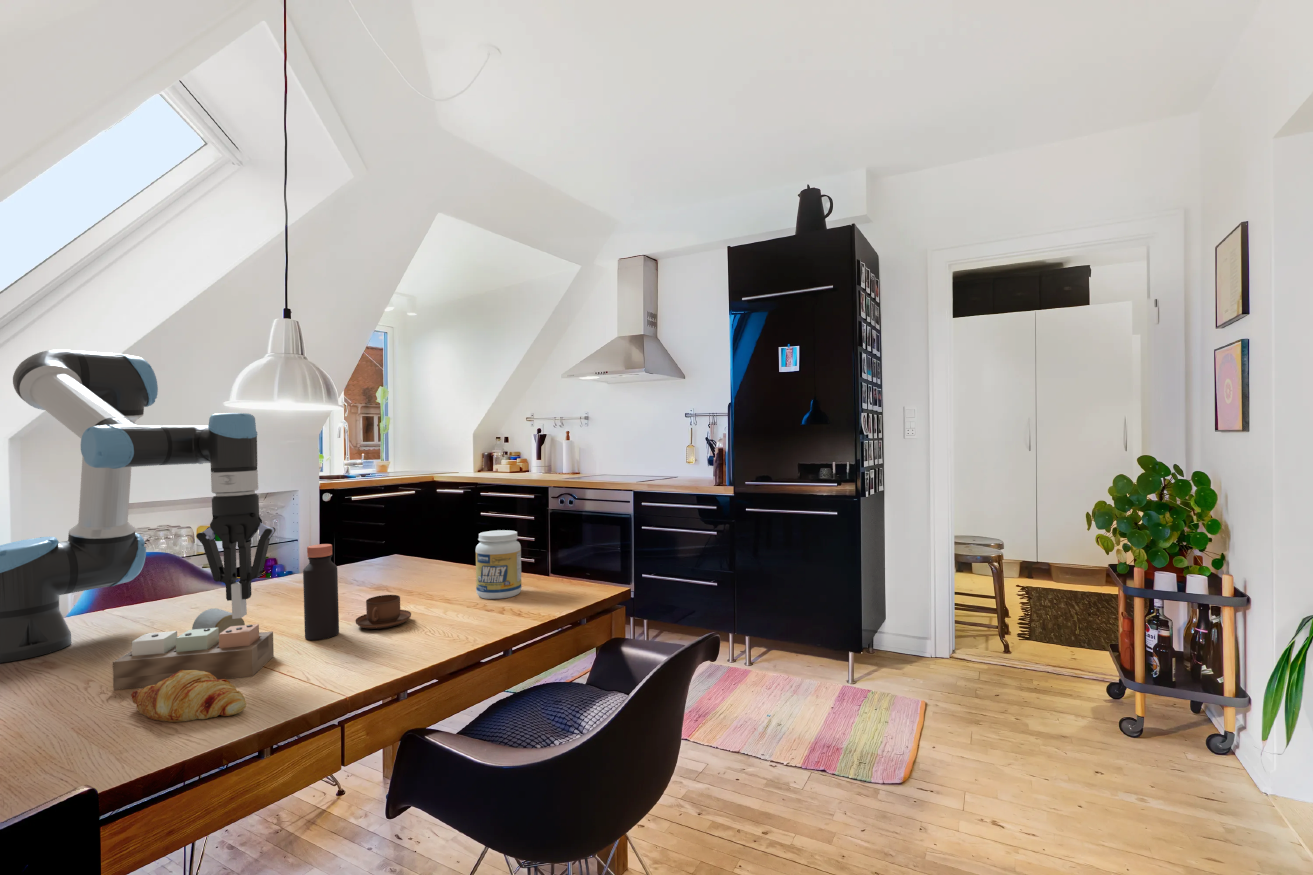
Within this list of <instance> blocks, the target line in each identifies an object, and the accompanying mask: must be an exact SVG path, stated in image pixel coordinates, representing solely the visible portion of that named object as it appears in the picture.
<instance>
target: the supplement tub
mask: <svg viewBox="0 0 1313 875" xmlns="http://www.w3.org/2000/svg"><path fill="white" fill-rule="evenodd" d="M518 536H519V535H518V531H515V530H510V529H509V530H508V529H507V530H505V529H502V530H501V529H497V530H489V531H482V532H480V533H478V538H477V540H478V541H479V542H478V544H477V545H476V546H475V578H476V579H475V583H476V584H475V587H476V588H475V592H476V595H477V596H478V597H479V598H481V599H488V600H499V599H500V600H501V599H506V598H507V599H509V598H512V597H516V596H517V595H519V594H520V593H521V591H522V546H521V543H520V542H519V541H518V539H519V538H518Z"/></svg>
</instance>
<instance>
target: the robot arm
mask: <svg viewBox="0 0 1313 875" xmlns="http://www.w3.org/2000/svg"><path fill="white" fill-rule="evenodd" d="M14 370H15V371H14V373H13V374H12V375H13V376H12V384H13V385H12V386H13V388H14V391H15V393H16V394H17V396H18V397H19V398H20V399H22V400H23V402H24V403H26V404H28V405H29V406H31V407H33V408H35V409H37V410H41V411H45V412H47V413H48V414H49V415H50V416H52V417H53V418H55V419H56V420H57V421H58V422H59V423H61V424H62V425H63V426H64V427H65V428H67V429H68V430H69V431H70V432H72V433H73V434H74V435H76V437H78V438H79V439H80V452H81V453H80V454H81V456H82V460H81V471H80V472H81V473H80V490H79V505H78V506H79V508H78V520H77V521H78V522H77V524H75V525H73V527H71V528H70V529H68V538H67V539H68V540H65V541H59V539H58V538H57V537H55V536H41V537H36V538H35V537H34V538H26V539H21V540H17V541H11V542H8V543H4V544H0V664H1V663H9V662H16V661H21V660H26V659H30V658H35V657H40V656H43V655H47V654H50V653H53V652H57V651H59V650H62V649H64V648H66V647H68V646H70V645H71V644H72V633H71V630H70V628H69V626H68V624H67V622H66V620H65V618H64V615H63V613H62V612H61V610H60V596H62V595H68V594H74V593H79V592H85V591H89V590H95V589H102V588H110V587H115V586H117V585H121V584H124V583H128V582H131V581H133V580H134V579H136V577H138V576H139V574H140V573H141V572H142V570H143V568H144V565H145V562H146V556H147V547H146V545H145V544H146V542H145V539H144V538H143V536H142V535H141V534H139V533H137V532H136V527H135V526H133V525H132V524H131V523H129V508H130V507H129V506H130V493H131V480H132V478H131V477H132V468H135V467H136V468H137V467H151V466H153V467H154V466H173V465H177V466H178V465H197V464H199V465H203V464H210V480H211V481H210V483H211V484H210V486H211V493H212V494H214V496H213V497H212V498H211V514H212V515H211V516H212V520H211V521H210V523H209V527H208V528H206V529H205V530H203V531H201V532H197V534H196V536H195V537H196V539H197V540H198V541H199V542H200V543H201V544H202V546H203V547H202V548H203V550H204V553H205V556H206V559H207V562H208V567H209V570H210V571H211V575H212V579H213V580H214V582H216V583H217V582H220V583H223V584H224V585H225V599H226V600H227V602H228V601H231V613H232V619H237V618H242V619H243V617H245V616H247V615H248V614H247V611H248V610H247V600H248V599H250V598H251V597H252V581H253V580H255V579H257V578H259V577H260V576H262V574H263V570H264V566H265V563H266V559H267V558H266V557H267V554H268V549H269V545H270V540H271V538H272V537H273V535H274V534H275V532H276V528H275V527H274V526H271V527H270V526H268V525H266V524H264V523H263V520H262V518H261V517H260V516H261V515H260V499H259V498H260V497H259V494H258V493H257V491H258V490H259V473H258V472H259V471H258V431H257V425H256V417H255V416H254V415H253V414H251V413H246V412H245V413H244V412H243V413H242V412H241V413H240V412H228V413H227V412H226V413H225V412H223V413H221V412H220V413H218V412H217V413H214V414H211V415H210V417H208V418H209V419H208V424H207V425H205V424H204V425H146V424H145V425H140V424H139V425H138V424H137V423H135V422H136V421H137V420H140V418H142V417H143V416H144V412H145V411H144V410H145V408H148V407H150V406H153V405H154V404H155V402H156V399H157V398H158V394H159V386H158V379H157V376H156V374H155V371H154V369H153V368H152V366H151V364H150V363H149V362H148V361H147V360H146V359H144V358H143V357H141V356H136V355H130V354H123V353H117V352H116V353H115V352H114V353H113V352H100V351H98V352H97V351H86V350H71V349H50V350H49V349H47V350H43V351H39V352H37V353H35V354H32V355H30V356H28V357H27V358H25V359H23V361H21V362H20V363H19V364H18V366H17V367H16V369H14ZM258 531H259V532H258ZM256 533H258V536H259V539H258V541H257V545H256V550H255V555H254V557H253V558H254V559H253V562H252V548H251V547H252V546H251V545H252V538H253V537H254V536H255V535H256ZM216 536H217V537H218V538H219V539H220V541H221V546H222V547H221V548H222V549H223V561H222V558H221V555H220V551H219V549H218V548H219V547H218V545H217V542H216V540H215V537H216ZM237 548H238V560H239V562H238V565H239V577H238V576H237V575H238V572H237V571H238V570H237ZM238 579H239V580H238ZM237 580H238V581H237Z"/></svg>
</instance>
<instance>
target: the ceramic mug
mask: <svg viewBox="0 0 1313 875" xmlns="http://www.w3.org/2000/svg"><path fill="white" fill-rule="evenodd" d="M242 625H246V622H245V621H244V619H243V617H242V618H237V619H232V611H231V612H229V611H226V610H224V609H222V608H221V609H220V608H217V607H215V608H208V609H205V610H204V611H202V612H201V613H199V614H198V616H196V618H195V619H194V622H193V623H192V628H191V630H194V629H206V628H219V634H220V633H221V632H223V631H224V630H226V629H227V628H229V627H230V626H242Z"/></svg>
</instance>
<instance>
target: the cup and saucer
mask: <svg viewBox="0 0 1313 875" xmlns="http://www.w3.org/2000/svg"><path fill="white" fill-rule="evenodd" d="M365 606H366V614H362V615H359V616H358V617H357V618H356V619H355V620H354V621H355V624H356V625H357V626H358V627H360V628H362V629H367V630H368V629H369V630H377V629H387V628H392V627H396V626H400V625H402V624H404V623H405V622H407V621H408V620H409V619H410V618H411V616H412V612H411V611H410V610H405V609H401V596H400V595H397V594H382V595H377V596H372V597H370V598H368V599H366V601H365Z"/></svg>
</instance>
